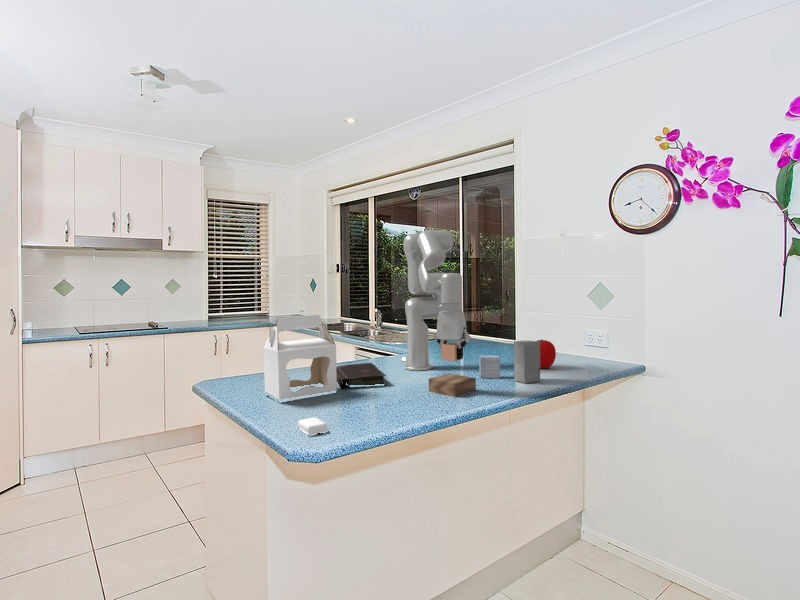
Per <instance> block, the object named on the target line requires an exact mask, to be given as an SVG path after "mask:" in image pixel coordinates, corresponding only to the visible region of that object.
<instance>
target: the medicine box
mask: <svg viewBox="0 0 800 600" xmlns="http://www.w3.org/2000/svg"><path fill="white" fill-rule="evenodd" d="M500 368H501V357H500V356H499V355H479V379H500V378H501V369H500Z"/></svg>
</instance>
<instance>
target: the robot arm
mask: <svg viewBox="0 0 800 600" xmlns="http://www.w3.org/2000/svg"><path fill="white" fill-rule="evenodd" d="M454 242H455V241H454V236H453V234H452V233H451V232H450V231H449V230H444V229H443V230H439V229H437V230H436V229H433V230H432V229H431V230H429V229H428V230H424V231H422V232H420V233H410V234H407V235H406V236H405V237H404V238H403V252H404V255H405V258H406V263H407V287H408V291H409V293H410V294H412V295H418V296H419V295H431V296H432V297H431V296H430V297H412V298H409V299H408V300H407V299H406V300H407V301H406V302H405V304H404V308H405V309H404V311H405V316H406V328H407V333H406V334H407V356H406V357H405V356H403V357H402V359H401V362H402V363H405V364H404V366H403V367H404V369H405V370H409V371H428V370H432V369H433V365H432V364H431V363H430V356H429V355H430V342H429V341H430V339H429V338H430V337H429V335H430V334H429V333H430V331H429V327H428V325H427V324H426V323H425V321H424V320H426V319H428V320H429V319H437V321H436V332H435V333H434V334H433V335H432V336H433V339H435V340H436V342H437V344H439V347H440V348H441V345H442V344H446V343H448V341H455V343H457V345H458V348H457V360H458V361H460V360H459V359H461V360H463V359H462V358H463V357H464V348H465V347H466V345H468V343H469V342H470V341H471V340H472V337H471V335H470V334H469V332H468V331H467V321H466V316H465V312H464V311H463V276H462V274H460V273H458V272H455V273H454V272H430V271H432V270H434V269H436V268H439V267H441V266H442V264H443V263H445V261H446V253H447V252H450V251H451V250H452V249H453V247H454ZM440 354H441V353H440ZM441 356H442V354H441Z"/></svg>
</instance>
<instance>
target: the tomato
mask: <svg viewBox="0 0 800 600" xmlns="http://www.w3.org/2000/svg"><path fill="white" fill-rule="evenodd" d="M536 341H539V342H540V369H548V368H550V367H552V366H553V364H554V363H555V360H556V357H557V351H556V347H555V345H554V344H553V343H552V342H551V341H550V340H547V339H544V340H543V339H542V338H541V339H538V340H536Z"/></svg>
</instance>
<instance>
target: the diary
mask: <svg viewBox="0 0 800 600" xmlns="http://www.w3.org/2000/svg"><path fill="white" fill-rule="evenodd" d="M336 372H337V382H338V384H339V385H338V384H337V385H338V386H339V388H340V387H342V388H343V386H344V385H345V386H346V383H347V384H348V385H349V386H350V385H375V384H384V383H385V382H384V379H385V378H384V377H387V375H386V374H385V373H384V372H382V371H381V370H380V369H379V368H378V367H377V366H376V365H375V364H374V363H372V362H367V363H364V362H363V363H351V364H345V365H343V364H342V365H336ZM342 382H343V384H344V385H343V384H342ZM385 384H386V386H387V385H388V383H385ZM345 386H344V387H345ZM346 387H347V386H346Z"/></svg>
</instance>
